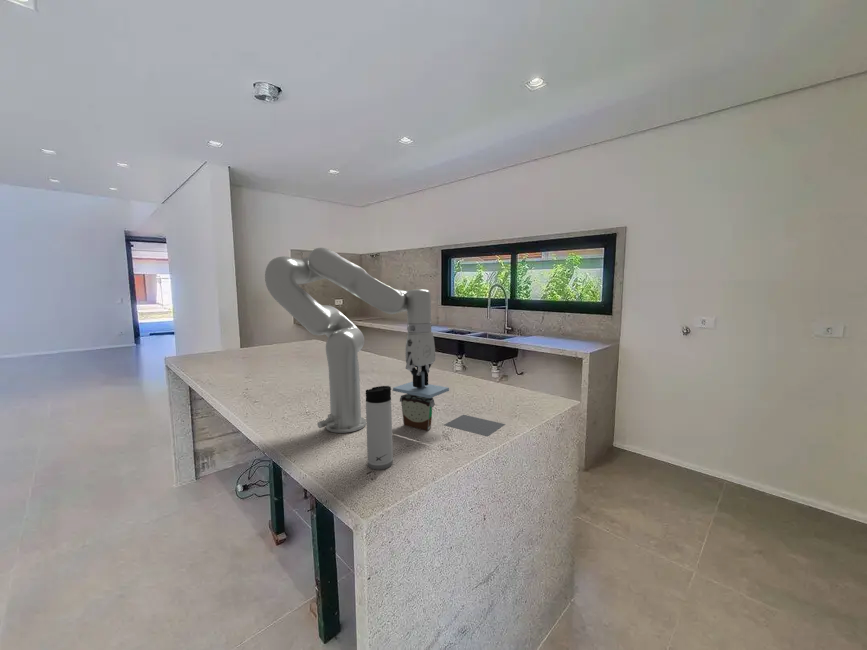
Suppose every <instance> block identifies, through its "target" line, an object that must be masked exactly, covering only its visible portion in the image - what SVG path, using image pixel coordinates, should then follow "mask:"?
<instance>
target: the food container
mask: <svg viewBox="0 0 867 650" xmlns="http://www.w3.org/2000/svg"><path fill="white" fill-rule="evenodd" d="M399 402H400V403H401V411H402V421H403V426H407V427H410V428H415V429H419V430H424V431H427V432H428V431H430V430H431V429H432V421H433V419H432V418H433V408H434V407H435V405H436V404H435V399H434V397H432V398H425V397H420V396H416V395H411V394H406V393H404V394H402V395H400V398H399Z"/></svg>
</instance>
